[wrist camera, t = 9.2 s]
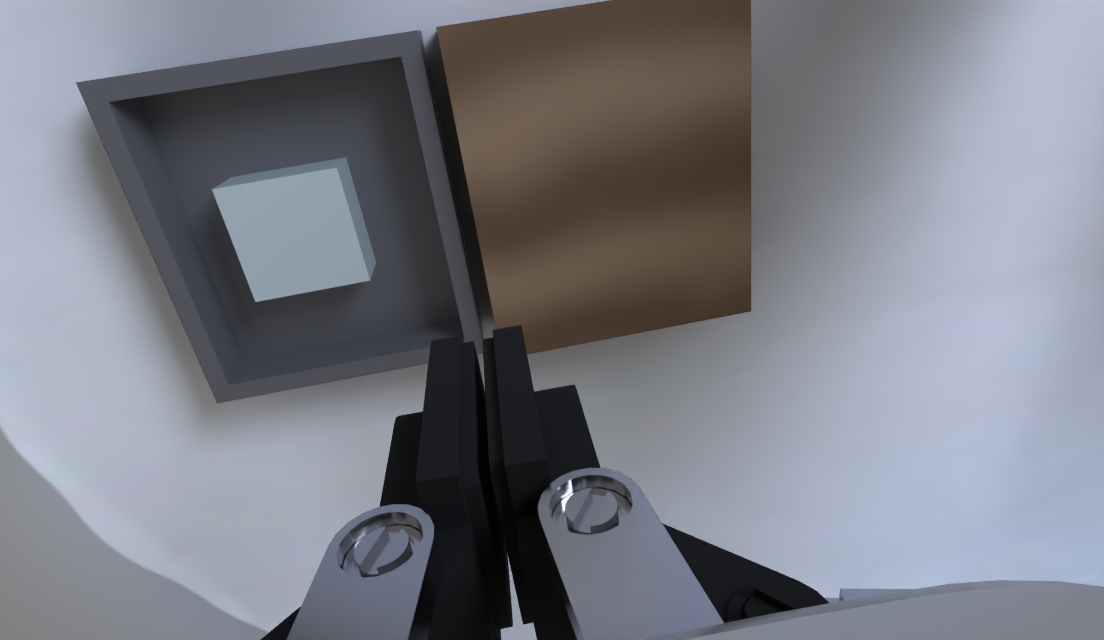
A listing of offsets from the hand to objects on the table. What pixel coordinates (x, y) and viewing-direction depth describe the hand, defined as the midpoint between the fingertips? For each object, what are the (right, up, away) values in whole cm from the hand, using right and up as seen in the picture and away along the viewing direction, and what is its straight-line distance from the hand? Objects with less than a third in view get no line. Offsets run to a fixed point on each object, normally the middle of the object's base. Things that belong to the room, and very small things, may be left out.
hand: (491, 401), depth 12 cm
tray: (-10, +6, +17) cm, 21 cm away
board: (+3, +9, +18) cm, 20 cm away
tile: (-10, +5, +15) cm, 18 cm away
